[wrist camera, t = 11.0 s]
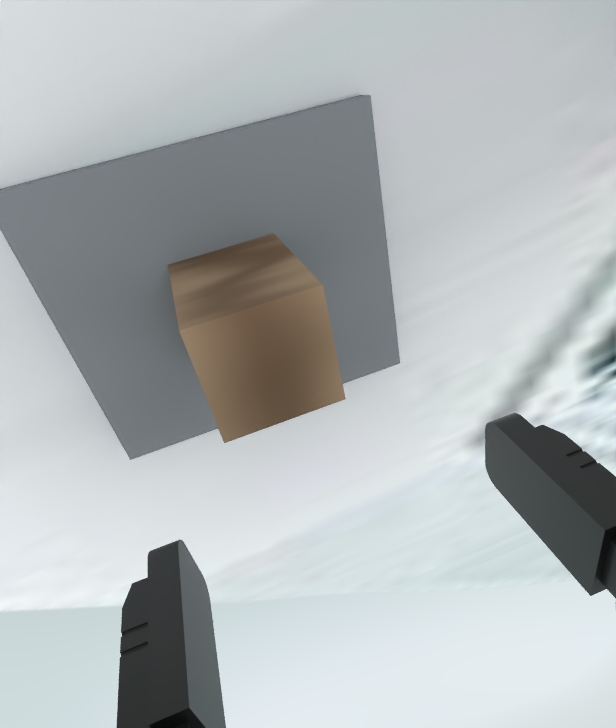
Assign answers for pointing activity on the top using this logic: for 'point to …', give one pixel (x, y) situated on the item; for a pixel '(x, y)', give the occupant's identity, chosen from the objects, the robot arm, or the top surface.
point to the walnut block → (256, 334)
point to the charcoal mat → (200, 236)
